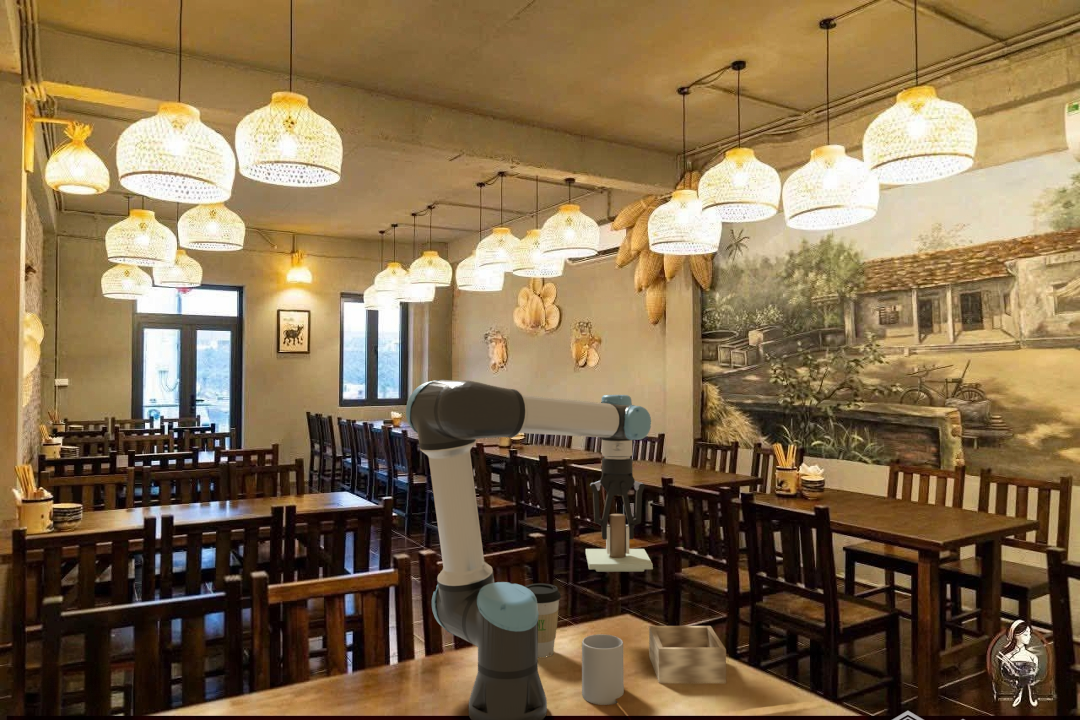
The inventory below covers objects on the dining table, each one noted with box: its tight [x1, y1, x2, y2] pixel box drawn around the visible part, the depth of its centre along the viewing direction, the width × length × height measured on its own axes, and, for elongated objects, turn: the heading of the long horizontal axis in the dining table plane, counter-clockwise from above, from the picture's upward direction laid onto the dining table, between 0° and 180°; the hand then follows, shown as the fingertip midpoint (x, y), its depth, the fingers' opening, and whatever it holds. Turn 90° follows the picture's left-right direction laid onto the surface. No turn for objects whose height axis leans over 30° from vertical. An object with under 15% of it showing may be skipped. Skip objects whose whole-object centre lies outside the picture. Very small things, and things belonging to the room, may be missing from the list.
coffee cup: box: [523, 582, 562, 658], centre depth 168 cm, size 10×10×15 cm
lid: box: [585, 513, 654, 573], centre depth 176 cm, size 15×15×12 cm
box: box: [648, 625, 727, 684], centre depth 156 cm, size 14×14×8 cm
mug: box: [581, 633, 625, 706], centre depth 147 cm, size 12×8×11 cm
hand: (617, 552), depth 176 cm, fingers closed on lid, 4 cm apart
